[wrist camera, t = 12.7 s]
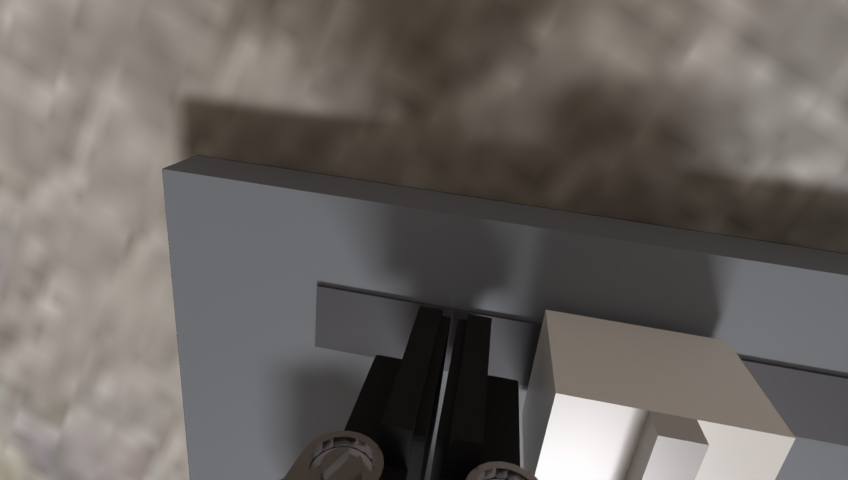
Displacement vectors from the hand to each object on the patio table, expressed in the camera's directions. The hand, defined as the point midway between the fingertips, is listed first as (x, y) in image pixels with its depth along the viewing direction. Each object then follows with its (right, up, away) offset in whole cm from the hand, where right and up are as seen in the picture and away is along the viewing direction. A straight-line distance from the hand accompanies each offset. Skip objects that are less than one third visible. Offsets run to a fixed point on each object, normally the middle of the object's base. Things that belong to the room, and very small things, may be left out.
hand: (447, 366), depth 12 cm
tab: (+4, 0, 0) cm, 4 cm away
